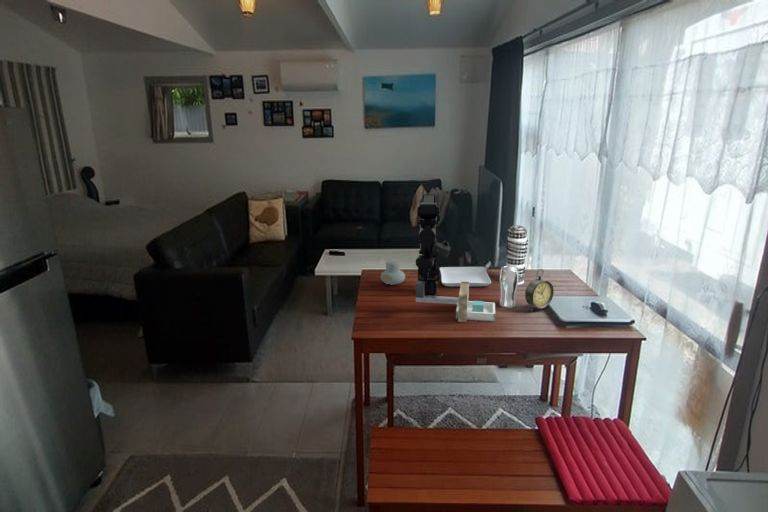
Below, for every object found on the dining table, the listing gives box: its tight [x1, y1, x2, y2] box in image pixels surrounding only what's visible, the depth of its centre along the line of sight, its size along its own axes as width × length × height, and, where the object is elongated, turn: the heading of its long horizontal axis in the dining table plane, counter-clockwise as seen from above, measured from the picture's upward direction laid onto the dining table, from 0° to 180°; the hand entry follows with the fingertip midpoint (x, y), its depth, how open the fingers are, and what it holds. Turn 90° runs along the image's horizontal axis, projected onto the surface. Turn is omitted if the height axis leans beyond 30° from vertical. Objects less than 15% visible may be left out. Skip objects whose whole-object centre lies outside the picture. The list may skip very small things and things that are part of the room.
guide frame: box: [457, 282, 470, 323], centre depth 174 cm, size 3×15×10 cm, turn 168°
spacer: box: [472, 300, 485, 312], centre depth 173 cm, size 4×4×4 cm
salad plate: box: [438, 266, 492, 288], centre depth 209 cm, size 21×21×3 cm
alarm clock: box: [524, 268, 555, 313], centre depth 175 cm, size 11×5×16 cm, turn 118°
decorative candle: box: [505, 224, 529, 286], centre depth 203 cm, size 9×9×25 cm
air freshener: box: [380, 259, 406, 286], centre depth 206 cm, size 11×8×10 cm
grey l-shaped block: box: [415, 280, 459, 305], centre depth 175 cm, size 18×3×8 cm, turn 78°
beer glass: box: [499, 265, 519, 309], centre depth 180 cm, size 7×7×15 cm
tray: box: [455, 300, 496, 323], centre depth 174 cm, size 14×11×3 cm
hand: (427, 275), depth 178 cm, fingers open, 9 cm apart
